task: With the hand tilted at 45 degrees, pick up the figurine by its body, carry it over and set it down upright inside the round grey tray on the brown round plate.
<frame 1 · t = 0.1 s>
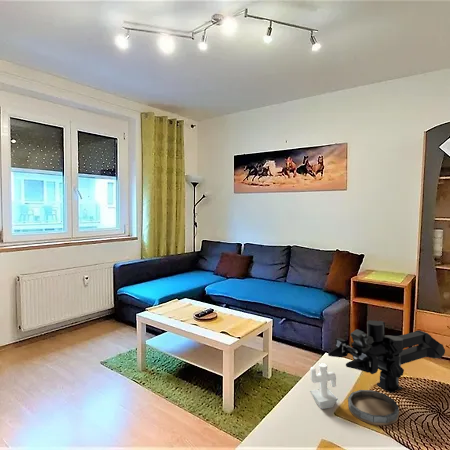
hand: (336, 359, 118), 17 cm above the table, tool horizontal, fingers open, 9 cm apart
figurine: (323, 405, 119), on the table
round grey tray: (372, 405, 115), on the brown round plate, point 1 cm above the table
brown round plate: (372, 410, 115), resting in round grey tray
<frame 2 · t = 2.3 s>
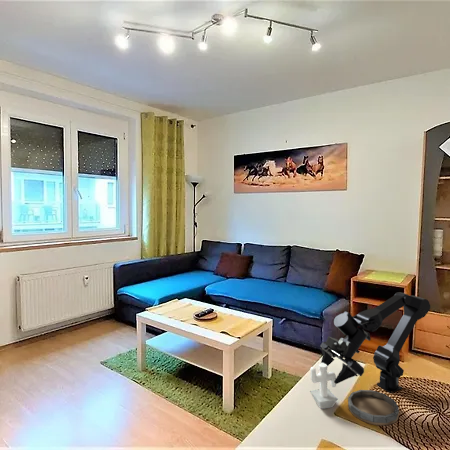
hand: (327, 376, 119), 10 cm above the table, tool tilted 45°, fingers open, 9 cm apart
nothing on the table moved.
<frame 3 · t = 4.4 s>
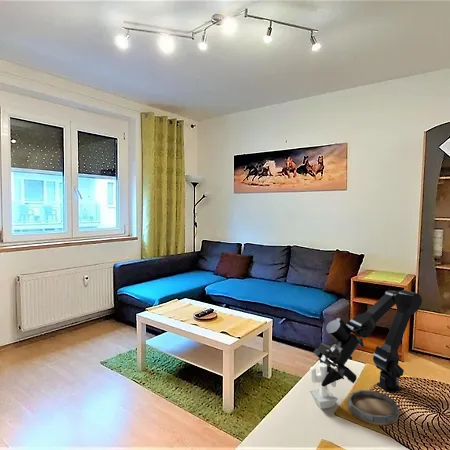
hand: (320, 383, 118), 8 cm above the table, tool tilted 45°, fingers closed on figurine, 3 cm apart
figurine: (323, 405, 119), on the table, touching gripper
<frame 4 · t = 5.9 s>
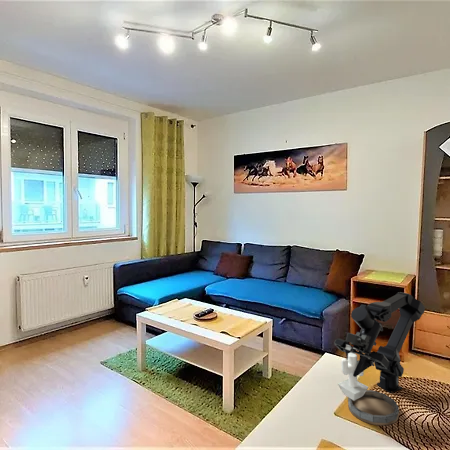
hand: (350, 374, 114), 13 cm above the table, tool tilted 45°, fingers closed on figurine, 3 cm apart
figurine: (353, 395, 116), point 5 cm above the table, touching gripper
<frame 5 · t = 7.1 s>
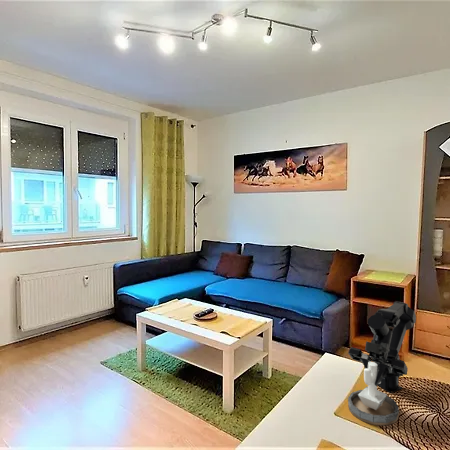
hand: (371, 384, 113), 10 cm above the table, tool tilted 45°, fingers closed on figurine, 3 cm apart
figurine: (372, 405, 115), point 2 cm above the table, touching gripper
when the fingers open (10 cm above the table, at t = 7.7 s): figurine stays where it is, resting on brown round plate.
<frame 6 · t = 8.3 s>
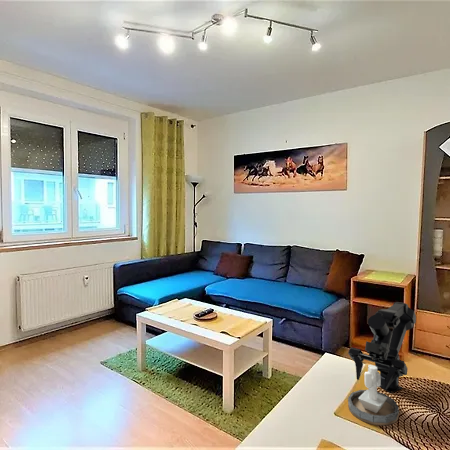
hand: (371, 384, 113), 10 cm above the table, tool tilted 45°, fingers open, 9 cm apart
figurine: (372, 408, 115), point 1 cm above the table, touching brown round plate
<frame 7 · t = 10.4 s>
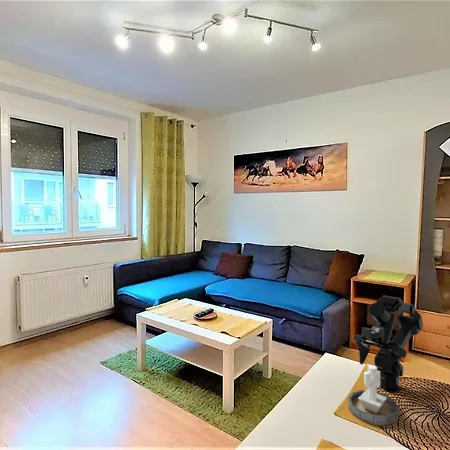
hand: (371, 367, 119), 13 cm above the table, tool tilted 40°, fingers open, 9 cm apart
nothing on the table moved.
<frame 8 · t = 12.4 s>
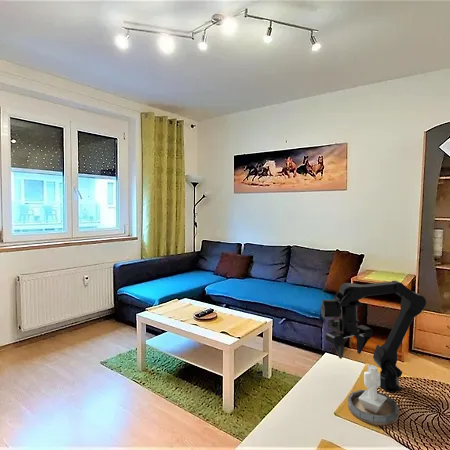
hand: (349, 355, 128), 13 cm above the table, tool pointing down, fingers open, 9 cm apart
nothing on the table moved.
at the end: figurine 0.1 cm off-centre on the round grey tray, point 0.6 cm above the round grey tray's base; figurine tilted 0°; the gripper is holding nothing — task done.
